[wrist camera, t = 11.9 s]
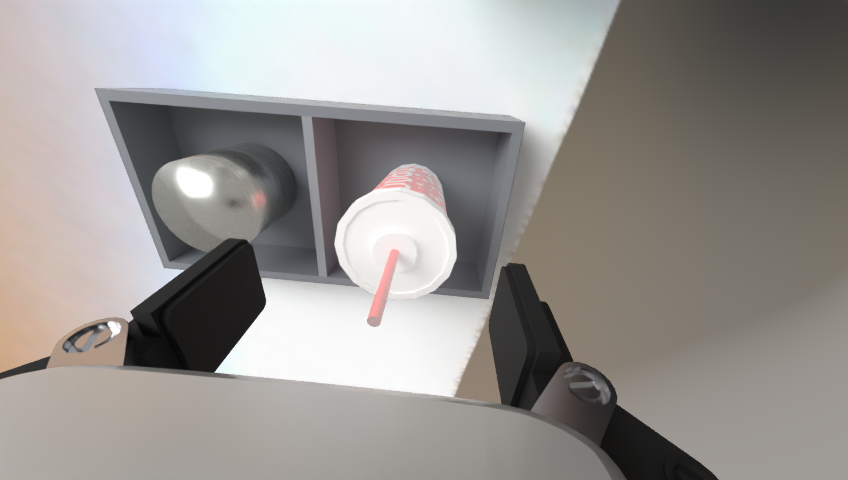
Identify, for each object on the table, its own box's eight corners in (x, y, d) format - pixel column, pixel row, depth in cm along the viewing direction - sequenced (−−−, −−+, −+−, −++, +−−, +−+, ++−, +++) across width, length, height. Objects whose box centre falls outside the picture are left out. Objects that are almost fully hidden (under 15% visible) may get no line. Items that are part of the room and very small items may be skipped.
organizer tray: (160, 88, 21) (94, 88, 17) (509, 115, 20) (525, 122, 16) (206, 241, 27) (164, 267, 23) (482, 266, 26) (488, 299, 22)
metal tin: (211, 139, 22) (136, 155, 17) (291, 145, 22) (241, 164, 16) (230, 214, 25) (170, 249, 19) (301, 221, 24) (261, 257, 19)
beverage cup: (458, 157, 21) (476, 254, 9) (447, 233, 24) (450, 389, 12) (373, 148, 21) (273, 233, 9) (372, 226, 24) (296, 372, 12)
